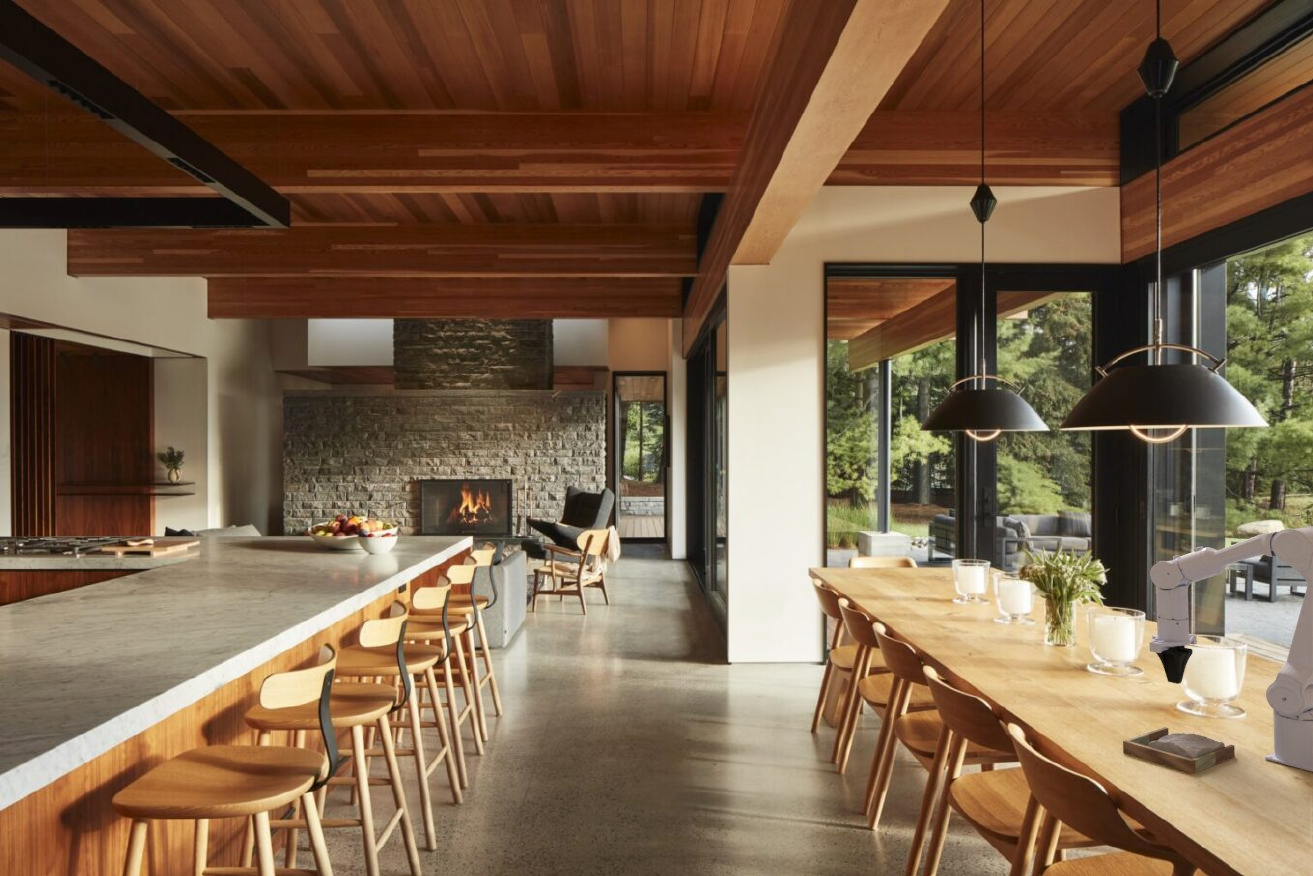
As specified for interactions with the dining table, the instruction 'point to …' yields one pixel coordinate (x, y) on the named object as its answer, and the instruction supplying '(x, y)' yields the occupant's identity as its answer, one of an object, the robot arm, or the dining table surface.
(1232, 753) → the guide slot
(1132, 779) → the dining table surface
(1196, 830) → the dining table surface
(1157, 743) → the stone block
